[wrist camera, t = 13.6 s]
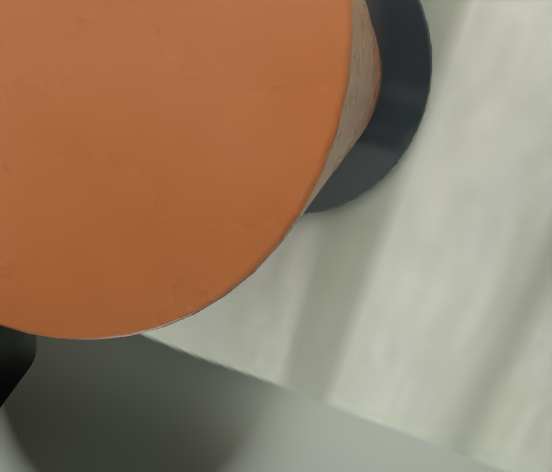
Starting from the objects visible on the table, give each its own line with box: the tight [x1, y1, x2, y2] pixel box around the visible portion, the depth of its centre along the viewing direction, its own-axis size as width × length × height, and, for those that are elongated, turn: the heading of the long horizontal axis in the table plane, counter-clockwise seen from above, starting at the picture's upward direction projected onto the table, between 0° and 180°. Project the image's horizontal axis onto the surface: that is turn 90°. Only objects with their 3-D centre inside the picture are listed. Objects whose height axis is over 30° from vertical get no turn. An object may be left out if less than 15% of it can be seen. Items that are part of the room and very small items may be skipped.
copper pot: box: [0, 0, 381, 340], centre depth 12 cm, size 10×7×13 cm
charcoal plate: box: [302, 0, 432, 215], centre depth 18 cm, size 10×10×1 cm
